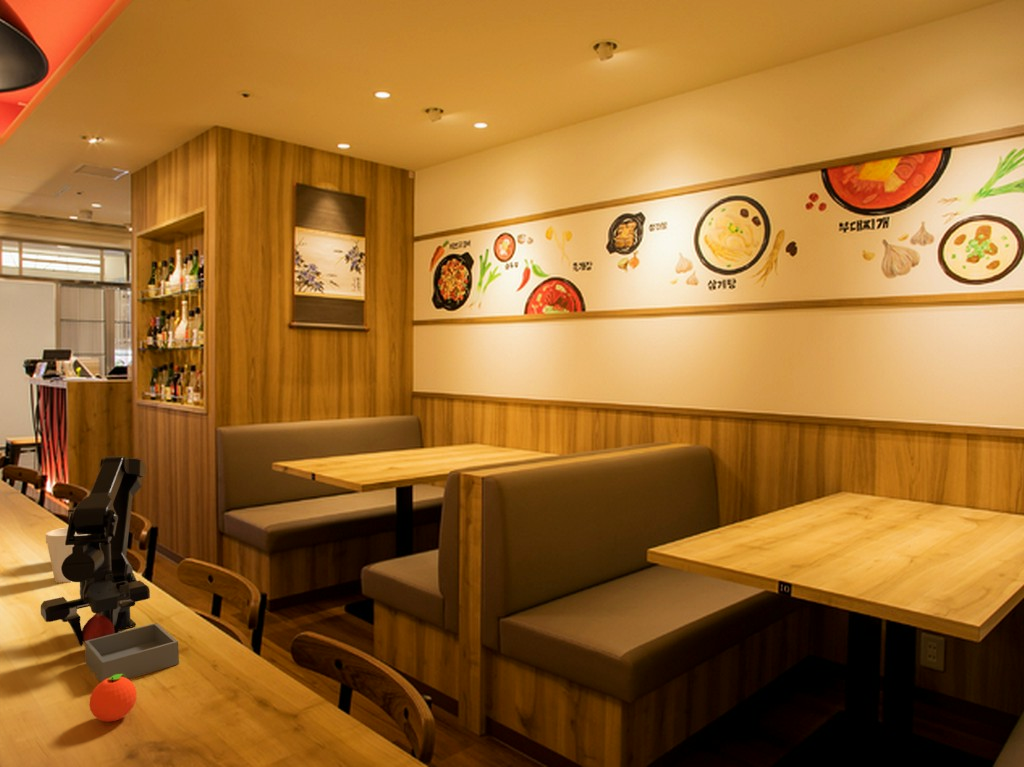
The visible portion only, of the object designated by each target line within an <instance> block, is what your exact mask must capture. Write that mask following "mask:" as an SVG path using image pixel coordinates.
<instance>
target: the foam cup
mask: <svg viewBox="0 0 1024 767" xmlns="http://www.w3.org/2000/svg"><path fill="white" fill-rule="evenodd" d="M67 531H68V526H67V527H62V528H56V529H51V530H49V531H47V532H46V533H45V544H47V550H48V554H49V559H50V565H51V568H52V573H53V578H54V582H55V581H56V582H55V583H57V582H59V583H60V582H61V583H60V584H63V583H62V582H67V583H72V582H71V581H69V580H68V579H66V578H65V577H64V575H63V574H62V570H61V566H62V564H63V561H64V560H65V559H66V558H67V557H68V556H69V555H70V554H71V553H72V547H74V545H65V542H66V536H67ZM85 535H88V534H85ZM74 536H81V535H77V533H76V532H75V535H74ZM59 583H58V584H59Z"/></svg>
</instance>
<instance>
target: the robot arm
mask: <svg viewBox="0 0 1024 767" xmlns="http://www.w3.org/2000/svg"><path fill="white" fill-rule="evenodd" d="M146 467H147V466H146V462H145V461H143V460H141V458H140V457H132V458H129V457H127V456H126V457H125V456H124V455H121V456H120V455H119V456H105V457H102V458H101V460H100V464H99V470H98V474H97V475H96V476H97V477H96V478H95V481H94V484H93V486H92V488H91V491H90V492H89V495H88V496H86V497H85V498H84V499H82V500H80V501H79V502H78V503H77V505H76V506H75V507H76V508H75V507H74V508H75V510H74V512H72V513H71V515H70V520H69V521H68V526H67V527H68V531H67V536H66V542H65V545H74V547H72V553H71V554H70V555H69V556H68V557H67V558H66V559H65V560H64V561H63V564H62V566H61V570H62V574H63V575H64V577H65V578H66V579H68V580H69V581H72V582H73V583H79V596H80V598H76V599H73V600H67V599H66V598H65V597H64V596H61V597H56V598H52V599H48V600H44V601H43V602H41V604H40V615H41V617H42V619H44V621H45V622H46V623H52V622H57V621H59V620H60V621H61V622H62V623H68V624H69V626H70V627H71V630H72V632H73V634H74V636H75V638H76V641H77V642H78V645H79V646H80V647H82V646H84V642H83V636H82V626H81V616H80V615H79V613H78V610H80V609H83V608H88V607H90V610H91V613H92V614H96V613H101V615H102V616H105V617H107V618H108V619H110V620H111V622H112V623H113V625H114V629H115V631H114V634H115V633H119V632H120V630H124V629H128V628H132V627H136V626H137V624H136V622H135V621H134V620H133V619H132V618H131V608H132V607H133V606H135V605H136V603H137V602H142V601H145V600H148V599H149V600H150V598H151V596H150V595H151V594H150V593H151V592H150V591H151V590H150V587H149V585H147V584H146V583H144V582H143V581H141V580H140V579H139V580H137V578H136V575H135V574H134V571H133V570H134V569H133V567H132V564H130V561H129V560H128V558H127V554H128V553H127V552H128V544H129V533H130V526H131V525H130V524H131V517H132V516H131V515H132V506H133V498H134V496H135V495H136V493H137V492H138V491H139V490H140V489H141V487H142V485H143V480H144V479H143V478H145V476H146V472H147V468H146ZM75 532H76V533H77V535H81V536H74V535H75ZM85 534H91V535H85ZM72 582H71V583H72Z"/></svg>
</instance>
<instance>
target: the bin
mask: <svg viewBox="0 0 1024 767" xmlns="http://www.w3.org/2000/svg"><path fill="white" fill-rule="evenodd" d="M179 651H180V650H179V640H177V639H176V638H175V637H174V636H172V634H170V633H169V632H168V631H167V630H165V629H164V628H163V627H162V626H161V625H160V624H158V623H157V622H154V623H150V624H145V625H143V626H139V627H134V628H131V629H126V630H123V631H119V633H115V634H111V635H107V636H103V637H99V638H95V639H91V640H88V641H85V643H84V654H85V656H84V658H85V664H86V665H85V666H87V667H88V668H89V670H90V671H91V672H92V674H93V675H94V676H95V678H96V679H97V680H98V681H99V684H100V683H101V682H102V681H104V680H105V679H107V678H110V677H112V676H113V675H116V674H125V676H126V678H127V679H129V680H131V679H134V678H137V677H140V676H144V675H147V674H151V673H154V672H158V671H160V670H164V669H167V668H170V667H171V668H172V667H174V666H177V665H180V654H179V653H180V652H179ZM121 677H124V676H122V675H121Z"/></svg>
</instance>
